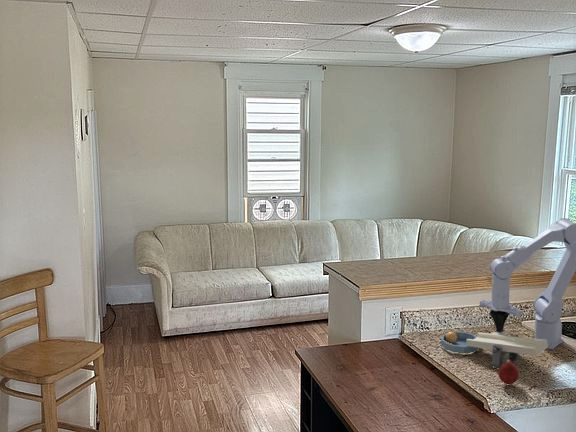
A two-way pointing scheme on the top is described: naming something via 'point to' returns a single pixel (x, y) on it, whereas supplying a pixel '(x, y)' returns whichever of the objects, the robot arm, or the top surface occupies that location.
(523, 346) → the lever
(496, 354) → the stand
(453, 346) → the blue bowl
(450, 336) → the ball
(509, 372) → the onion
